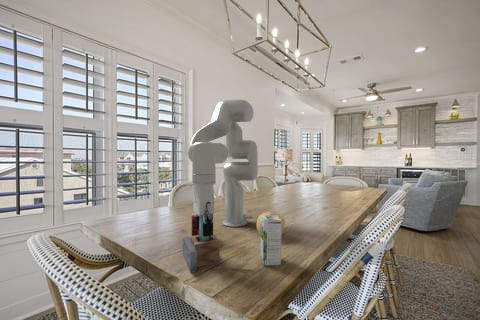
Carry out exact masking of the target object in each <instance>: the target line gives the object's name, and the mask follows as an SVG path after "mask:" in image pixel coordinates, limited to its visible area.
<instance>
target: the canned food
mask: <svg viewBox="0 0 480 320" xmlns="http://www.w3.org/2000/svg"><path fill="white" fill-rule="evenodd" d="M196 216H197V215H196V213H195V212H194V211H193V212H192V213H191V236H196V235H199V228H197V227H196Z"/></svg>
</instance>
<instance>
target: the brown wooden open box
mask: <svg viewBox="0 0 480 320" xmlns="http://www.w3.org/2000/svg"><path fill="white" fill-rule="evenodd" d="M189 238H190V240H191V242H192V244H193V245H194V247H195V249H196V250H197V267H202V266H207V265H212V264H218V263H220V262H221V261H220V250H221V249H220V241H221V240H219V239H218V238H217V236H216V235H215V234H214V233H213V235H212V236H209V241H203V242H199V235H196V236H192V235H190V236H189Z"/></svg>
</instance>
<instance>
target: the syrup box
mask: <svg viewBox="0 0 480 320" xmlns="http://www.w3.org/2000/svg"><path fill="white" fill-rule="evenodd" d="M281 222H282V221H281V219H280V218H279V217H278V216H274V215H264V216H262V217H261V236H260V259H261V262H262V265H263V266H265V267H267V266H281V265H282V234H281Z"/></svg>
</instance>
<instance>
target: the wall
mask: <svg viewBox="0 0 480 320" xmlns="http://www.w3.org/2000/svg"><path fill="white" fill-rule="evenodd" d="M182 255H183V259H184V261H185V263H186V265H187V268H188V270H189V273H190V274H191V273H195V272H198V266H197V250H196V249H195V247H194V245H193V244H192V242H191V240H190V236H182Z"/></svg>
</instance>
